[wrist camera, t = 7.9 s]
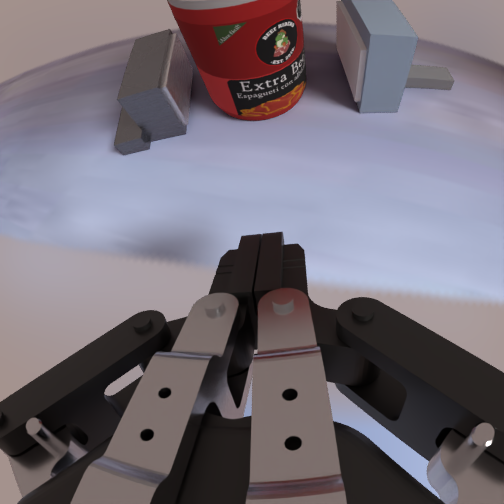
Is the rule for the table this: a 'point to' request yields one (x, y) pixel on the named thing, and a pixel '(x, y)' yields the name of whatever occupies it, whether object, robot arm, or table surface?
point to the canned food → (246, 53)
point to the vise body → (154, 93)
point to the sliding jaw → (381, 55)
